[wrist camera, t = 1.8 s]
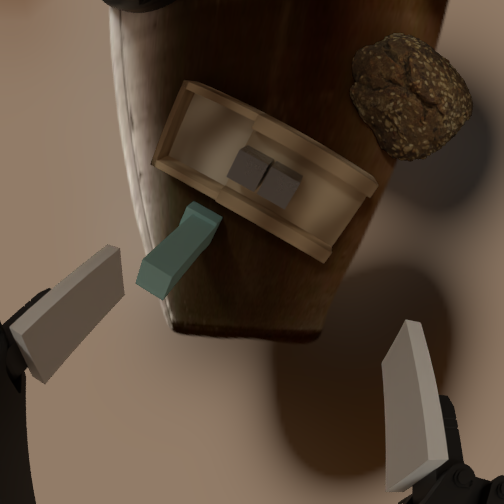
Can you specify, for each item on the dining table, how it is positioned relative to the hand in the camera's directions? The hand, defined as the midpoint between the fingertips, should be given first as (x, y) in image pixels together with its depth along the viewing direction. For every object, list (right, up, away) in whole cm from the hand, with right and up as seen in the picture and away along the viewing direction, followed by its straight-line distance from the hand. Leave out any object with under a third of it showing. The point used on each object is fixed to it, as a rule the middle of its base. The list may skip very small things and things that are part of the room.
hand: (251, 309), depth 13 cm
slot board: (+1, +12, +19) cm, 23 cm away
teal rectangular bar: (-6, +6, +24) cm, 26 cm away
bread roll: (+16, +19, +13) cm, 27 cm away
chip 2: (+3, +9, +16) cm, 19 cm away
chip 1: (0, +11, +16) cm, 19 cm away
